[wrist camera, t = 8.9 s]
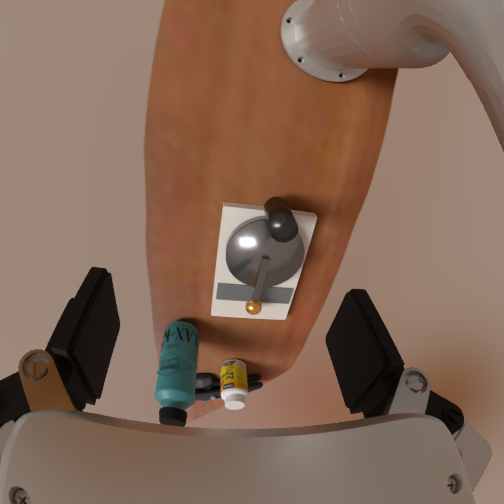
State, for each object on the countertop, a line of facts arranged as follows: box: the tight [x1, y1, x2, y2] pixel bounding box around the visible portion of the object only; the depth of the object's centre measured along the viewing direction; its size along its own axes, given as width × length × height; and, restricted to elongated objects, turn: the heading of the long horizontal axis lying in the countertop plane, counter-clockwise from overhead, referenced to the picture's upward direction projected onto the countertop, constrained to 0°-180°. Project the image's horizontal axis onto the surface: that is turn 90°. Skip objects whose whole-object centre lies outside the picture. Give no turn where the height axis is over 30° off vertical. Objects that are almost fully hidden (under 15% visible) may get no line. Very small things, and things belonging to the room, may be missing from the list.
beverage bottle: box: [155, 321, 200, 427], centre depth 43 cm, size 6×7×20 cm
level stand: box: [211, 202, 317, 320], centre depth 44 cm, size 20×13×2 cm, turn 171°
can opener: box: [195, 373, 263, 402], centre depth 59 cm, size 18×7×6 cm, turn 94°
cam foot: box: [226, 197, 305, 315], centre depth 39 cm, size 19×11×7 cm, turn 169°
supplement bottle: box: [220, 359, 248, 410], centre depth 54 cm, size 6×6×10 cm
